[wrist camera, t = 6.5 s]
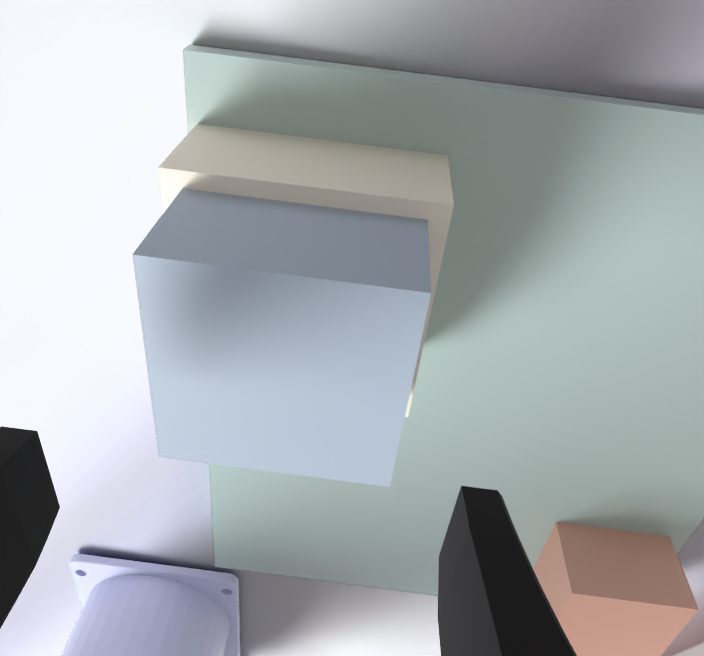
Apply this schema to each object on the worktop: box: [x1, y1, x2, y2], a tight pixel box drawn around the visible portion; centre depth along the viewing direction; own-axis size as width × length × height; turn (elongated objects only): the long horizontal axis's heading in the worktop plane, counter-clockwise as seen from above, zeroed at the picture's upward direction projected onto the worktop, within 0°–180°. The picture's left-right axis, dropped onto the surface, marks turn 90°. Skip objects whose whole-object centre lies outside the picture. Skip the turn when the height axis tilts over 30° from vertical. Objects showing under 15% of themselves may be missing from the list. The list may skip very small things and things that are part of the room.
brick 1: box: [158, 124, 454, 417], centre depth 16 cm, size 6×6×3 cm
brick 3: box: [533, 522, 699, 656], centre depth 24 cm, size 4×4×3 cm
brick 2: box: [133, 188, 431, 487], centre depth 14 cm, size 6×6×3 cm
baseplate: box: [183, 45, 704, 596], centre depth 21 cm, size 22×19×1 cm
